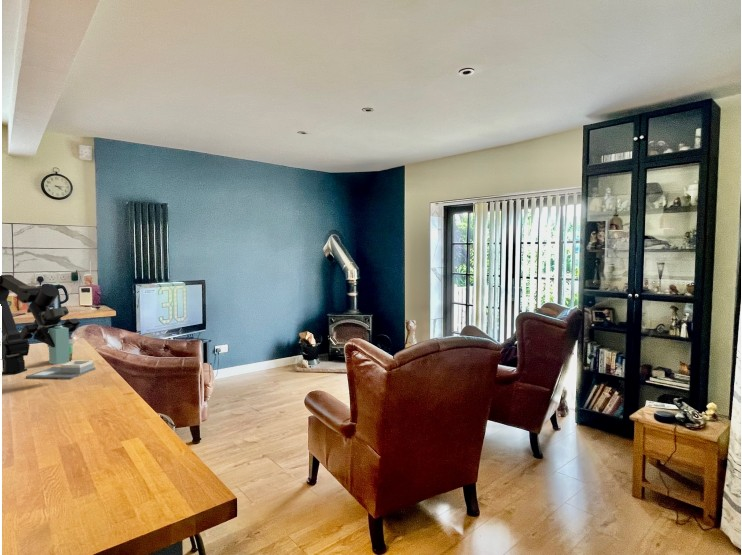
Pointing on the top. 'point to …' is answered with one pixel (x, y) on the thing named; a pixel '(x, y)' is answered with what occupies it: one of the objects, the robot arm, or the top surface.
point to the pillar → (59, 345)
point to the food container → (70, 347)
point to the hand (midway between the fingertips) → (61, 345)
